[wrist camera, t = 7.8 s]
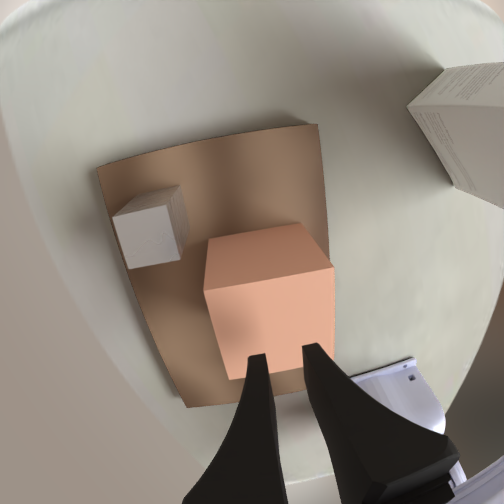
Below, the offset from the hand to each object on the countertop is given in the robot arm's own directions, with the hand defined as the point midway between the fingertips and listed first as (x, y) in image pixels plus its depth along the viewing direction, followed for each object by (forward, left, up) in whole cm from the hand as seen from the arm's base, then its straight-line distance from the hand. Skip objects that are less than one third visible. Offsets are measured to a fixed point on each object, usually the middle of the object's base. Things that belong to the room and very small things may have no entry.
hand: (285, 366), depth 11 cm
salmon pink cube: (0, 0, -8) cm, 8 cm away
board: (+2, +2, -10) cm, 10 cm away
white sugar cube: (+5, -5, -8) cm, 11 cm away
